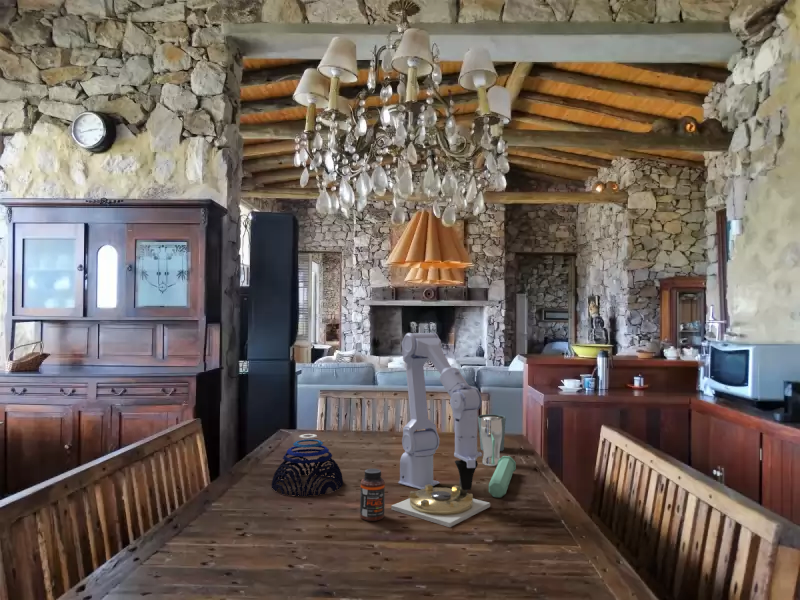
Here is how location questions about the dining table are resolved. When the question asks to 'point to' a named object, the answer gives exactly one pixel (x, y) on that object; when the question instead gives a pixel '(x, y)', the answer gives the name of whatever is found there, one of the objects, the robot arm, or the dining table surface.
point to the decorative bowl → (329, 472)
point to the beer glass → (491, 439)
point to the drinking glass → (502, 428)
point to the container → (502, 476)
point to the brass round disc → (441, 500)
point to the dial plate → (441, 519)
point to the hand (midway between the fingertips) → (466, 489)
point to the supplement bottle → (372, 495)
